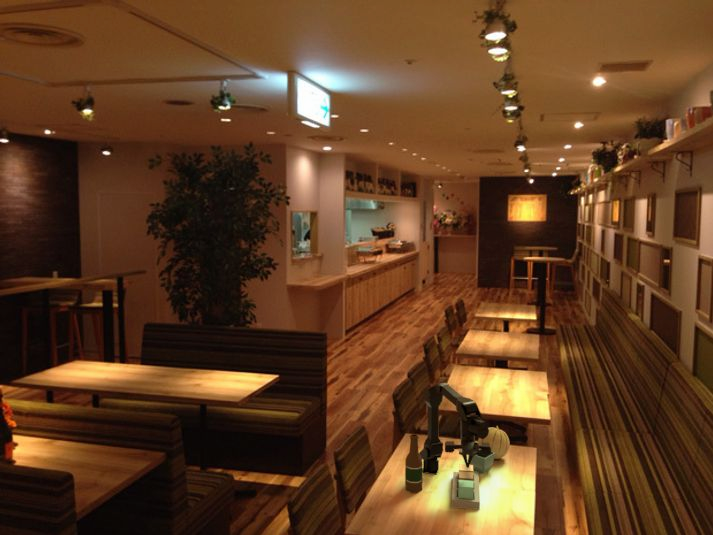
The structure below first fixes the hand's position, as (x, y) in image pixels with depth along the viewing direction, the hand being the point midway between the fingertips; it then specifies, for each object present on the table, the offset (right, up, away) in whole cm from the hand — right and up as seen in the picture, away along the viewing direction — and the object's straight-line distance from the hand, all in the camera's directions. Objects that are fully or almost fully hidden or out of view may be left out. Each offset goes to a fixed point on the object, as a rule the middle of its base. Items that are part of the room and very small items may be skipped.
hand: (467, 467), depth 262 cm
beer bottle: (-22, -12, +9) cm, 26 cm away
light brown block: (+1, -9, +12) cm, 15 cm away
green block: (-1, -10, -3) cm, 11 cm away
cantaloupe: (+19, -8, +40) cm, 45 cm away
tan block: (0, -9, +4) cm, 10 cm away
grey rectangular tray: (0, -12, +5) cm, 13 cm away
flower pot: (+11, -10, +25) cm, 29 cm away
